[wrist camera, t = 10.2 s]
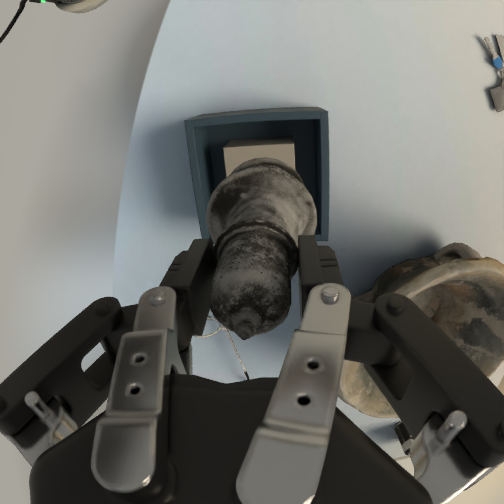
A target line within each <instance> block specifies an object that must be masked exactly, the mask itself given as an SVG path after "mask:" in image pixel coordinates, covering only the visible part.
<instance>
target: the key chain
mask: <svg viewBox="0 0 504 504" xmlns="http://www.w3.org/2000/svg"><path fill="white" fill-rule="evenodd" d="M496 38H497V41H498V44H499V48H500V52H501V55H502V59H503V61H504V36H496ZM485 41H486V43H487V45H488V47H489V49H490V51H491V53H492V55H493V60H492V61H493V64H494V65H495V67H497V68H500V70H501V71H500V74H501V77H502V82H501V85H500V86H499V87H496V88H494V89H491V90H490V93H491V96H492V99H493V102H494V105H495V108H496V111H497V112H500V111H502V110H504V76H503V74H502V72H503V69H504V67H502V59H501V57H500V56H499V55H497V54H496V51H495V50H494V47H493V46H492V43H490V41H489V38H488V37H485ZM501 67H502V68H501ZM503 73H504V72H503Z"/></svg>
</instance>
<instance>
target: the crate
mask: <svg viewBox="0 0 504 504" xmlns="http://www.w3.org/2000/svg"><path fill="white" fill-rule="evenodd" d="M184 122H185V130H186V137H187V145H188V152H189V159H190V166H191V173H192V180H193V186H194V193H195V199H196V206H197V212H198V218H199V224H200V230H201V236H202V239H212V237H211V235H210V233H209V230H208V225H207V220H206V216H207V206H208V203H209V200H210V198H211V195H212V193H213V192H214V190H215V189H216V188H217V187H218V185H219V184H220V183H221V181H223V180H224V179H226V169H225V160H224V151H223V148H224V147H225V146H226V145H227V143H228V142H229V141H230V140H236V139H249V138H266V137H289V136H292V138H293V142H294V152H295V171H296V172H297V173H298V174H299V176H300V177H301V179H302V180H303V183H304V186H305V188H306V189H307V190H308V192H309V193H310V195H311V196H312V198H313V201H314V204H315V207H316V211H317V226H316V230H315V234H314V235H315V237H316V241H328V230H329V124H328V111H326V110H324V109H322V108H319V107H296V108H271V109H255V110H242V111H230V112H220V113H211V114H203V115H199V116H196V117H194V118H191V119H188V120H185V121H184ZM212 241H213V239H212ZM213 244H215V243H214V241H213Z"/></svg>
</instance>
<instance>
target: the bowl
mask: <svg viewBox="0 0 504 504" xmlns="http://www.w3.org/2000/svg"><path fill="white" fill-rule="evenodd" d="M386 293H398V294H401V295H404V296H406V297H408V298H409V299H410V300H412V301H413V302H414V303H415V304H416V305H417V306H418V307H419V308H420V309H421V310H422V311H423V312H424V313H425V314H426V315H427V316H428V317H429V318H430V319H431V320H432V321H433V322H434V323H435V324H436V325H437V326H438V327H439V328H440V329H441V330H442V331H443V332H444V333H445V334H446V335H447V336H448V337H449V338H450V339H451V340H452V341H453V342H454V343H455V344H456V345H457V346H458V347H459V348H460V349H461V350H462V351H463V352H464V353H465V354H466V355H467V356H468V357H469V358H470V359H471V360H472V361H473V362H474V363H475V365H476V366H477V367H478V368H479V369H480V370H481V371H482V372H483V373H484V374H485V375H486V376H487V377H488V378H489V377H490V376H491V375H492V374H493V373H494V371H495V370H496V369H497V368H498V366H499V365H500V364H501V363H502V361H503V360H504V265H503V264H502V263H500V262H499V261H498V260H495V259H493V258H490V257H485V258H482V257H481V256H480V254H479V253H478V252H477V251H475V250H474V249H472V248H471V247H469V246H468V245H465V244H463V243H452V244H449V245H447V246H445V247H444V248H442V249H441V250H440V251H439V252H437V253H436V254H434V255H433V256H429V257H423V258H420V259H413V260H407V261H404V262H402V263H401V264H400V265H395V266H393V267H391V268H390V269H388V270H386V271H385V272H384V273H383V274H382V275H381V276H380V277H379V278H378V279H377V281H376V282H375V284H374V287H373V289H372V290H371V291H368V292H366V293H364V294H360V295H357V296H355V297H353V298H354V299H356V300H359V301H363V302H369V303H375V300H376V299H377V298H378V297H379V296H381V295H383V294H386ZM338 397H339V398H340V399H341V400H343V401H344V402H345V403H347V404H349V405H350V406H352V407H354V408H356V409H357V410H358V411H360V412H361V413H364V414H367V415H369V416H373V417H378V418H389V417H398V415H397V414H396V412H395V411H394V409H393V408H392V406H391V405H390V404H389V402H388V401H387V399H386V398H385V396H384V395H383V394H382V392H381V391H380V389H379V388H378V387H377V385H376V384H375V382H374V381H373V379H372V378H371V377H370V375H369V374H368V372H367V371H366V370H365V368H364V366H363V363H359V362H354V361H349V360H343V367H342V373H341V379H340V385H339V391H338ZM398 418H399V417H398Z"/></svg>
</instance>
